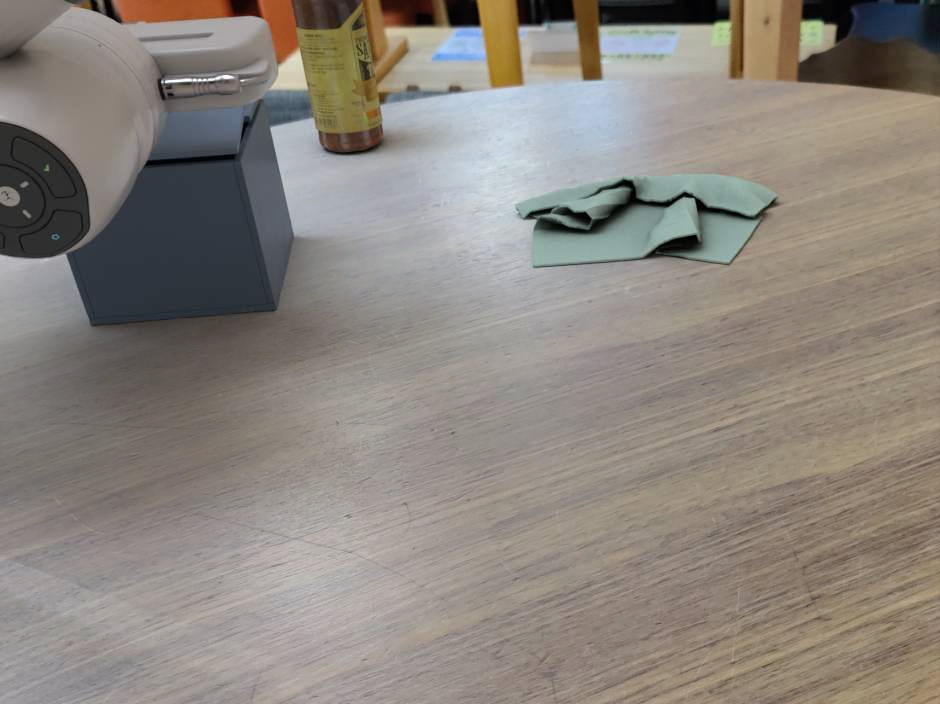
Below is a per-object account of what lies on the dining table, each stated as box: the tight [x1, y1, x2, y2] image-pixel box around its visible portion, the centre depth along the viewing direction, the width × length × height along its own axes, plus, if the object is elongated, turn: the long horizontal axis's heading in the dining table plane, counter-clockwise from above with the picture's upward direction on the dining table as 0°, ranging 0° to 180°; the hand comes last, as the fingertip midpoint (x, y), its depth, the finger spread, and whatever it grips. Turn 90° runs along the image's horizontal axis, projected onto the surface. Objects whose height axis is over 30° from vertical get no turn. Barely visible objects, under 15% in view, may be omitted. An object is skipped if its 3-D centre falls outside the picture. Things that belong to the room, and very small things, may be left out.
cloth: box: [514, 173, 780, 268], centre depth 96 cm, size 20×22×2 cm
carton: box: [65, 98, 295, 326], centre depth 87 cm, size 14×13×11 cm
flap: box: [148, 105, 246, 160], centre depth 81 cm, size 7×13×1 cm, turn 97°
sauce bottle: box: [290, 0, 384, 153], centre depth 108 cm, size 7×6×20 cm
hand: (128, 35), depth 79 cm, fingers closed
